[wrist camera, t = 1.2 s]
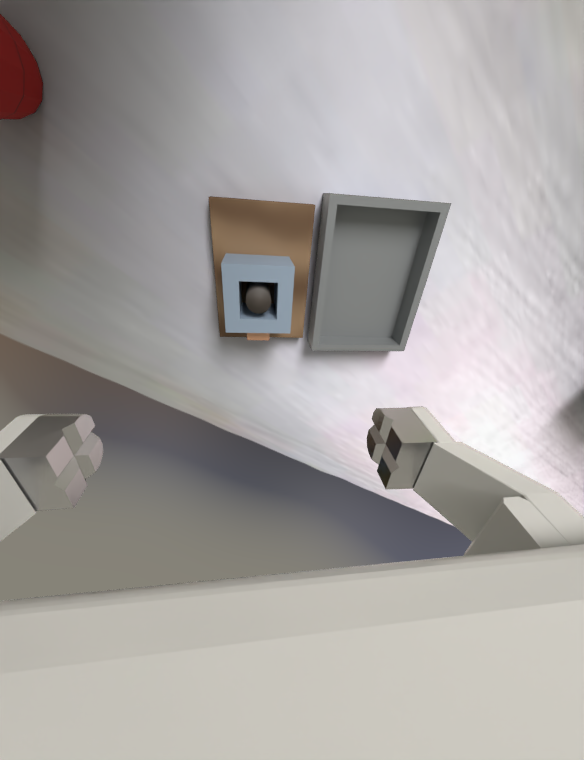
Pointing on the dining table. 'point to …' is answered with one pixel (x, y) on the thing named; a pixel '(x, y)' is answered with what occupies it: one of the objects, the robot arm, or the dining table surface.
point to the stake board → (263, 250)
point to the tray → (371, 270)
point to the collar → (257, 271)
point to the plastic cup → (17, 75)
